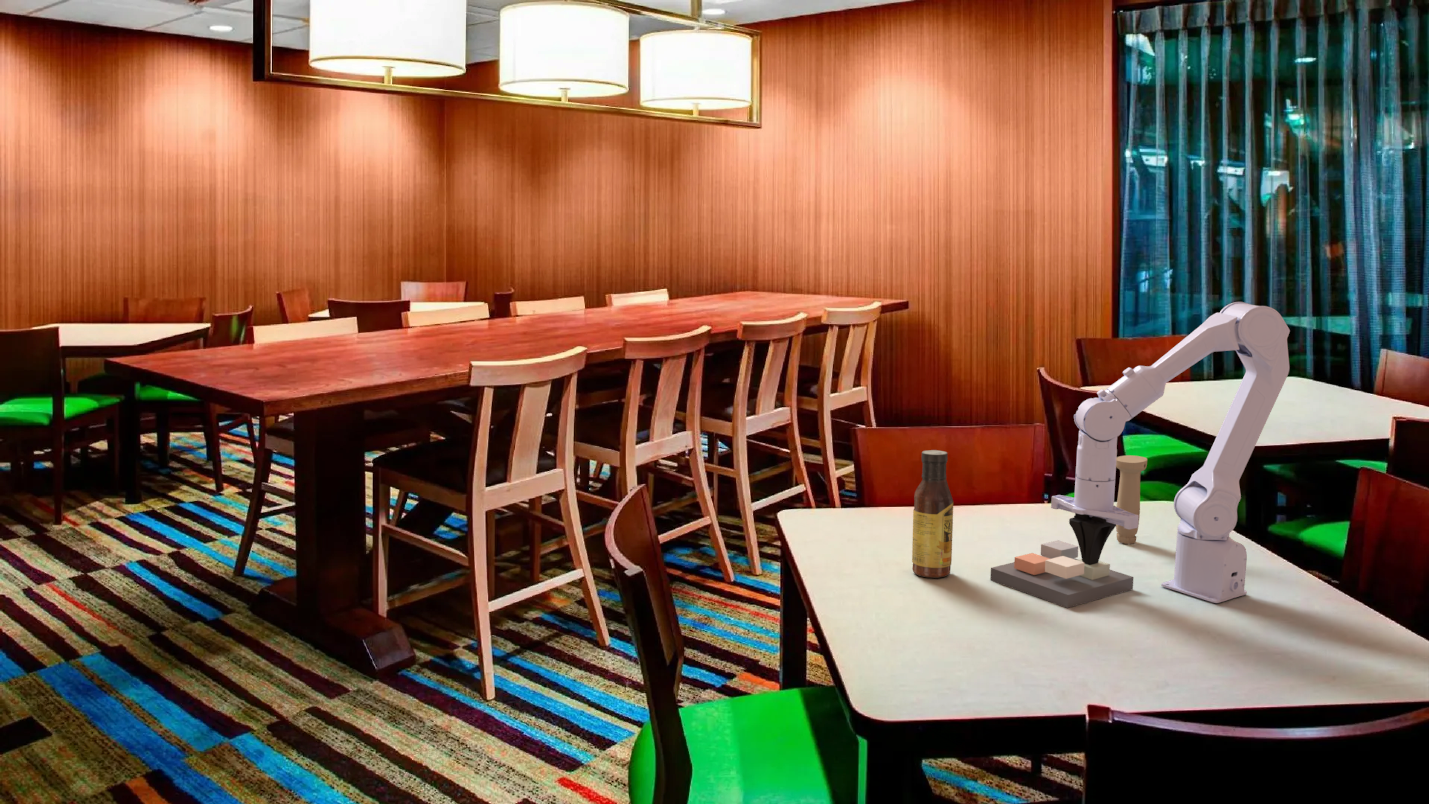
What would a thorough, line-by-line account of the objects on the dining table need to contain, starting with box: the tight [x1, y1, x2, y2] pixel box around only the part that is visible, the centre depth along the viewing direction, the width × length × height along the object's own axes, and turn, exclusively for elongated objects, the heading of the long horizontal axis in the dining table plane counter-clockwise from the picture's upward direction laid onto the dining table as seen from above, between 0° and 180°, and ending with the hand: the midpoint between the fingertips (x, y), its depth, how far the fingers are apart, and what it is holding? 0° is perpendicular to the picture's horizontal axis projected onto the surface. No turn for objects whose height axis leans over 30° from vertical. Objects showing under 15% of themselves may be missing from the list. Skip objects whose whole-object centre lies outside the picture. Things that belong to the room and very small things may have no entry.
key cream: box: [1045, 556, 1085, 579], centre depth 162 cm, size 4×4×2 cm
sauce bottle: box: [911, 449, 954, 579], centre depth 171 cm, size 7×6×20 cm
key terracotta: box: [1013, 552, 1049, 575], centre depth 167 cm, size 4×4×2 cm
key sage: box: [1078, 558, 1111, 580], centre depth 166 cm, size 4×4×2 cm
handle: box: [1115, 454, 1148, 545], centre depth 188 cm, size 5×6×15 cm
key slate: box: [1040, 539, 1079, 559], centre depth 170 cm, size 4×4×2 cm
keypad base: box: [989, 556, 1134, 609], centre depth 167 cm, size 15×15×2 cm
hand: (1090, 563), depth 166 cm, fingers closed, pressing on key sage
